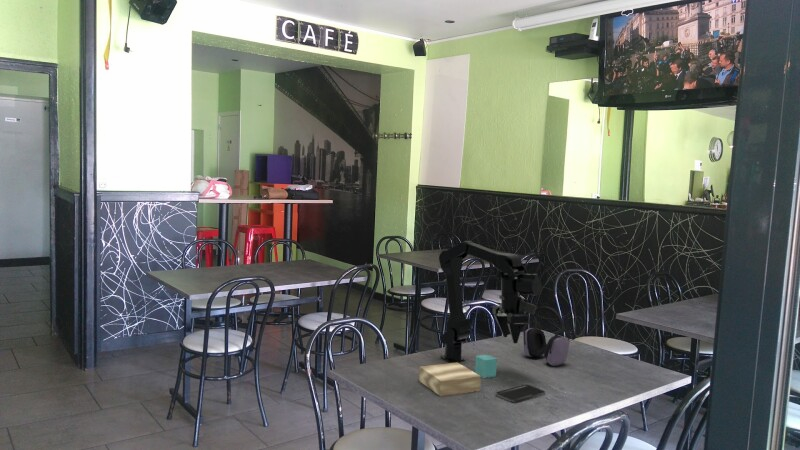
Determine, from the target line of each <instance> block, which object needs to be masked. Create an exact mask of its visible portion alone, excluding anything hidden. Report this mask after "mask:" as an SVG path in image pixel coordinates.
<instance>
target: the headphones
mask: <svg viewBox="0 0 800 450" xmlns="http://www.w3.org/2000/svg"><path fill="white" fill-rule="evenodd" d="M541 311H548V312H550V313H551V314H552V315H554V317H555V318H556V319H557V321H558V324H559V325H560V326H561V329H559V330H558V331H556V332H555V334H554V336H552V337H550V338H549V339H548V341H547V339H546V335H545V333H544V331H543V330H542V329H541V325H540V323H539V322H538V320H536V319H534V317H536V316H537V315H538V313H540V312H541ZM531 323H532V324H533V323H534V324H536V325H537V327H530V328H527V327H528V325H529V324H531ZM526 328H527V329H526ZM561 333H566V334H567V337H566V336H562V335H559V334H561ZM570 338H571V333H570V330H568V329H567V328H566V326H565V322H564V319H563V317H562V316H561V314H560V313H559V312H558V311H557V310H556V309H555V308H553V307H550V306H546V305H545V306H540V307H536V310H535V313H534V315H532V314H530V315H529V323H528V324H527V325H525V326H524V327H523V351H524V356H526V357H529V358H530V357H531V358H534V357H535V358H537V357H540V356H542V355H543V357H544V358H545V362H546V363H548V364H549V365H551V366H552V367H557V366H560V365H563V364H564V363H565V362H566V361H567V358H568V354H569V349H570V340H571V339H570Z"/></svg>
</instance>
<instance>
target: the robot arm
mask: <svg viewBox="0 0 800 450" xmlns="http://www.w3.org/2000/svg"><path fill="white" fill-rule="evenodd" d="M469 256H472V257H475V258H478V259H480V260H483V261H485V262H486V263H489V264H492V265H493V267H494V268H495V269H497V270H498V271H499V273H498V274H496V275H495V279H498V280H499V279H500V283H501V286H500V287H501V288H500V289H501V291H500V292H501V293H500V294H499V296H498V297H499V299H500V301H501V305H500V304H499V305H494V306H493V308H492V314H493V316H494V319H495V320H496V322H497V324H498V327H499V329H500V331H501V333H502V335H503V338H508V334H509V333H510V336H511V340H512V342H513V344H517V343H518V341H519V338H520V335H521V331H522V329H523V328H524V326H525V325H527V324H528V323H529V319H530V315H531V314H532V315H534V313H535V310H536V309H537V308H538V307H537V305H535V304H532V303H531V302H530V303H529V299H527V298H524V297H523V298H522V296H520V295H527V296H536V297H538V296H539V295H540V294H541V293H542V289H543V284H542V282H541V280H540V278H539V274H538V273H529V272H528V271H527V268H526V267H525V265H524V264H523V261H522V259H521V257H520V255H518V254H515V253H507V252H501V251H500V252H499V251H496V250H494V249H491V248H488V247H486V246H483V245H481V244H478V243H476V242H473V241H472V240H464V241H461V242H460V243H458V244H457V245H455V246H452V247H451V248H448V249H445V250H442V251H441V252H440V254H439V256H438V261H439V266H440V268H441V270H442V272H443V273H444V275H445V283H446V292H447V300H448V301H447V302H448V310H449V315H448V319H447V322H446V328H445V329H446V331H445V332H444V333H442V334H441V335H440V337H439V339H440V343H441V344H443V345H444V355H440V358H441V359H444V360H445V361H446V362H448V363H457V362H463V361H465V358H463V357H462V350H463V349H462V343H466V342H467V339H468V337H469V336H470V334H471V331H472V327H471V319H470V318H467V317H466V316H465V314H464V305H463V294H462V286H461V276H460V275H461V274H460V273H461V270H462V268H463V262H464V261H463V260H464V259H466V258H467V257H469ZM527 313H528V314H530V315H528V314H527ZM529 324H530V323H529ZM529 324H528V325H529ZM528 325H527V326H528Z"/></svg>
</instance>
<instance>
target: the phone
mask: <svg viewBox="0 0 800 450" xmlns="http://www.w3.org/2000/svg"><path fill="white" fill-rule="evenodd" d="M545 395H546V390H543V389H540V388H538V387H536V386H532V385H530V384H523V385H519V386H515V387H511V388H508V389H503V390H500V391H496V392H495V397H497V398H500V399H502V400H503V399H504V401H506V402H508V403H510V402H511V403H510V404H518V403H521V402H526V401H528V400H532V399H534V398H535V399H536V398H538V397H542V396H545Z"/></svg>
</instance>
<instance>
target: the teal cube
mask: <svg viewBox="0 0 800 450" xmlns="http://www.w3.org/2000/svg"><path fill="white" fill-rule="evenodd" d="M497 362H498V358H496V357H494V356H492V355H490V354H480V355H476V356H475V368H474V372H475V373H476V374H478V375H480V376H481V378H482V377H483V378H482V379H485V378H487V377H488V378H495V377H497V368H498V367H497V366H498V365H497ZM488 378H487V379H488Z"/></svg>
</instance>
